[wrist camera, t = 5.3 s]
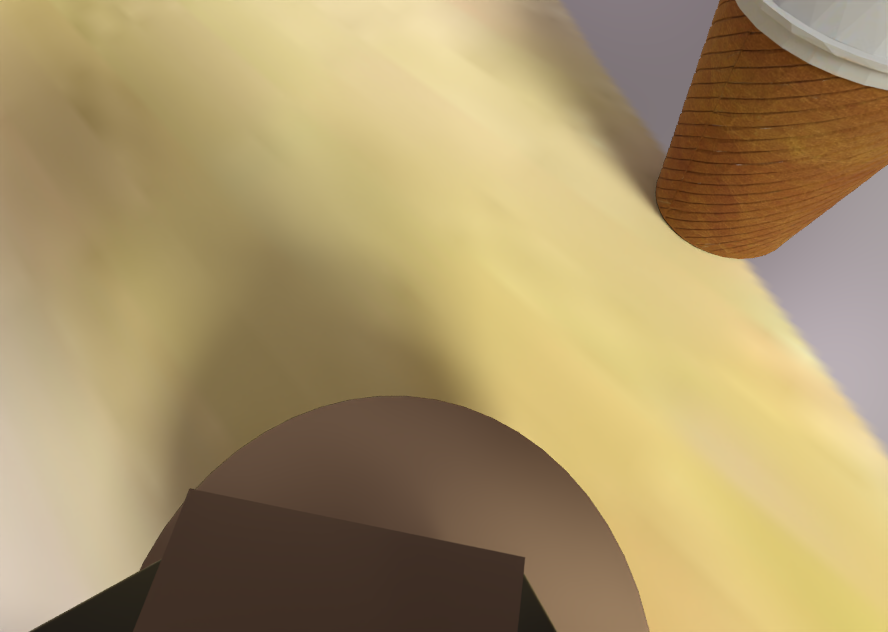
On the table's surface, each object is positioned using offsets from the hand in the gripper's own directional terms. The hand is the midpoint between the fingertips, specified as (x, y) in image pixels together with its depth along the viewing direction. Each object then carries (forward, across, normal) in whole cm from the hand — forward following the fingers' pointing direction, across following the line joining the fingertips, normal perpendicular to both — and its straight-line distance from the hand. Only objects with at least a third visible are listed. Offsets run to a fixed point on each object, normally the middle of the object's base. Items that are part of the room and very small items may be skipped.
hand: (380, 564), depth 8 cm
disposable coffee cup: (+21, -11, -5) cm, 25 cm away
